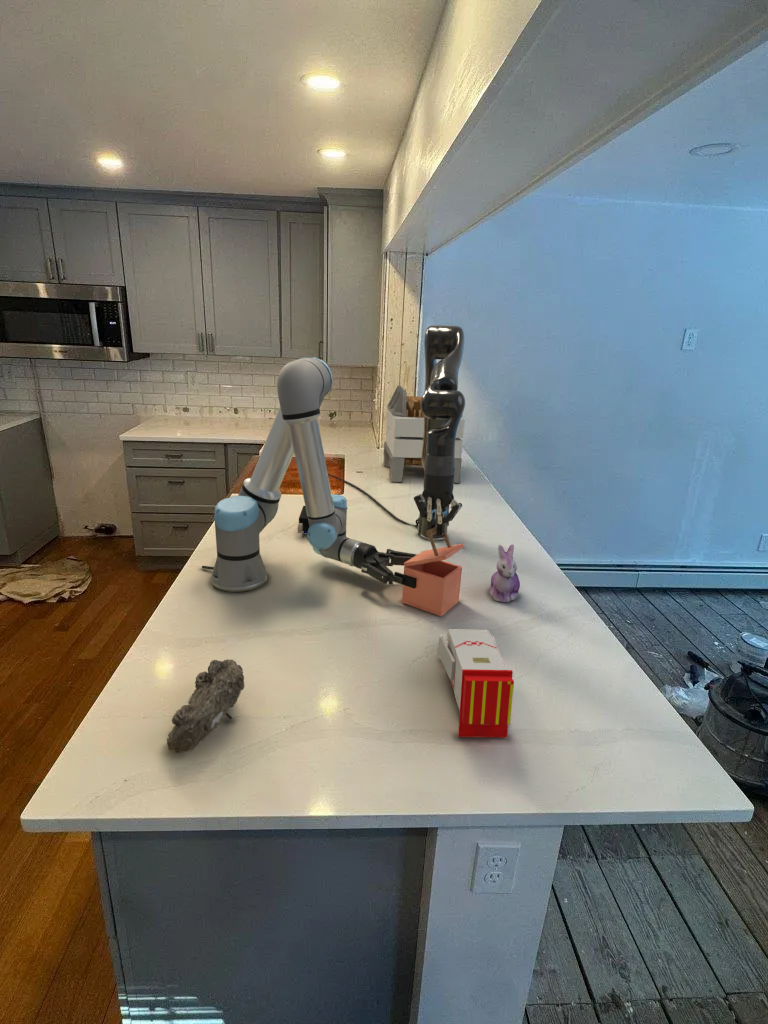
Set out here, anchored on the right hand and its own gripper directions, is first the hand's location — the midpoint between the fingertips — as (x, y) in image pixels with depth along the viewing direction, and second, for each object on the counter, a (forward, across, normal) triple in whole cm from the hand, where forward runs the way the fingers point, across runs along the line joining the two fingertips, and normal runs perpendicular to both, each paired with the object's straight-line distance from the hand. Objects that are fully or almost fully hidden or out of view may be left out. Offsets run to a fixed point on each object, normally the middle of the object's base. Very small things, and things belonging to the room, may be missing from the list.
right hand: (435, 534), depth 148 cm
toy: (+20, +25, -29) cm, 43 cm away
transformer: (+18, -68, +109) cm, 130 cm away
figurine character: (+18, -59, +17) cm, 64 cm away
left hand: (+13, -2, 0) cm, 13 cm away
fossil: (+19, -11, -66) cm, 69 cm away
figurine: (+20, +14, +16) cm, 29 cm away
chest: (+20, 0, 0) cm, 20 cm away
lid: (+6, 0, 0) cm, 6 cm away
